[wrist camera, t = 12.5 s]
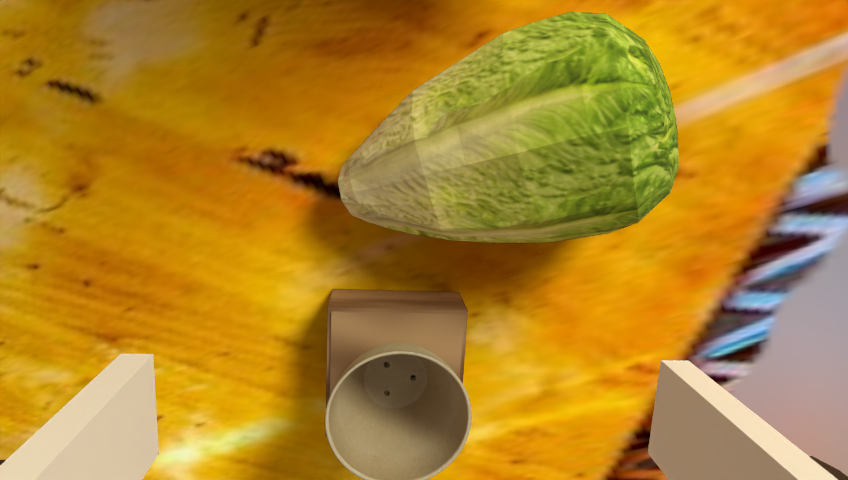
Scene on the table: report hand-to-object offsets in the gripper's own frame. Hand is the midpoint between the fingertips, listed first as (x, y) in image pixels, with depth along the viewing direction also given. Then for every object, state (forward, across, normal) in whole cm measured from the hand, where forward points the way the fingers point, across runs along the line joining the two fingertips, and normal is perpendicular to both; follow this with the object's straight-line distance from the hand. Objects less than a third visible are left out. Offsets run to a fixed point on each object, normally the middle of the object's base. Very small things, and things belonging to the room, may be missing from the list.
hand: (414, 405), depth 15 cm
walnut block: (+34, +1, -13) cm, 37 cm away
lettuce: (+35, +8, +5) cm, 36 cm away
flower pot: (+29, +1, -13) cm, 32 cm away
